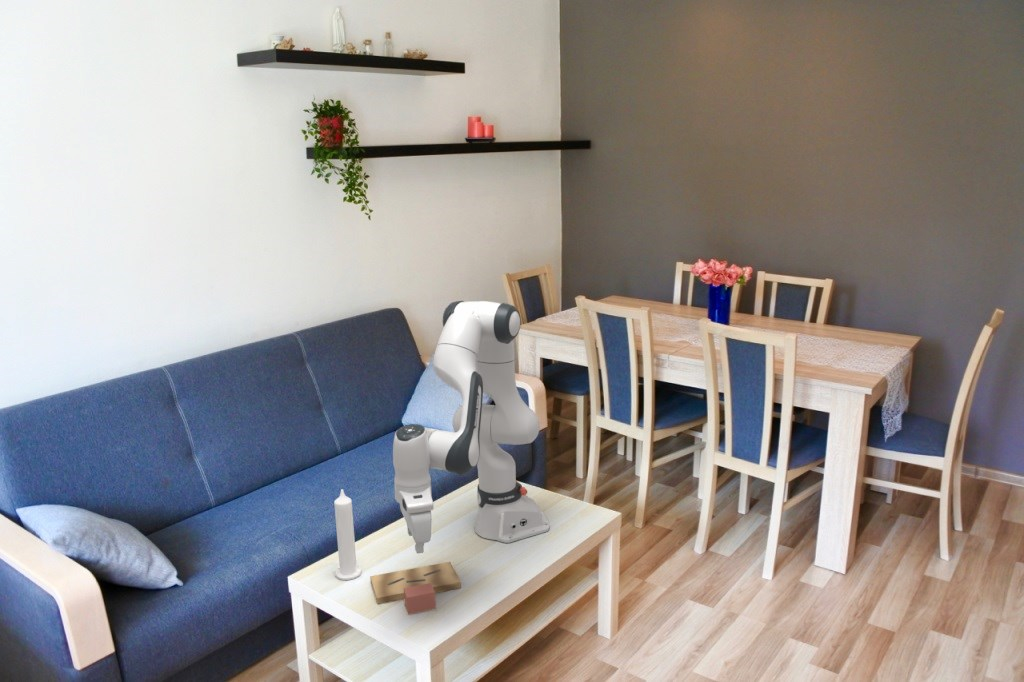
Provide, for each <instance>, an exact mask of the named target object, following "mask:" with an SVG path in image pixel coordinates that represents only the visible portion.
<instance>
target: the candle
mask: <svg viewBox="0 0 1024 682" xmlns="http://www.w3.org/2000/svg"><path fill="white" fill-rule="evenodd" d="M352 503H353V501H352V498H350V497H349V496H346V494H345V491H344V489H343V488H342V489H340V493H339V496H338V497H337V498H336V499H334V502H333V504H334V515H335V517H334V518H335V525H336V526H335V527H336V539H337V551H338V562H339V563H338V564H339V567H338V568H337V569H336V570H335V572H334V574H335V577H336V579H338V580H341V581H350V580H351V581H352V580H355V579H357V578H359V577H360V576H361V575H362V573H363V571H362V567H360V566H359V565H357V555H356V553H357V552H356V542H355V541H356V540H355V528H354V516H353V515H354V514H353V504H352Z"/></svg>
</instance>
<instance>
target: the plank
mask: <svg viewBox="0 0 1024 682" xmlns="http://www.w3.org/2000/svg"><path fill="white" fill-rule="evenodd" d="M369 577H370V578H369V579H370V584H371V587H372V591H373V594H374V597H375V601H376V603H377V605H380V604H381V605H382V604H386V603H392V602H396V601H401V600H404V588H407V587H413V586H418V585H423V584H428V583H431V585H432V587H433V589H434V592H435V594H437V593H441V592H442V593H443V592H448V591H453V590H457V589H461V588H462V584H461V583H462V582H461V580H460V578H459V576H458V574H457V572H456V569H455V568H454V566H453V564H452V562H451V561H446V562H441V563H436V564H429V565H424V566H419V567H413V568H408V569H403V570H398V571H397V570H396V571H391V572H385V573H381V574H374V575H371V576H369Z"/></svg>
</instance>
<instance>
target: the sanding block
mask: <svg viewBox="0 0 1024 682" xmlns="http://www.w3.org/2000/svg"><path fill="white" fill-rule="evenodd" d="M403 600H404V601H403V602H404V607H405V610H406V613H407V616H410V615H414V614H419V613H425V612H430V611H434V610H436V608H437V607H436V593H435V592H434V589H433V587H432V585H431V583H428V584H423V585H418V586H413V587H407V588H404V599H403Z"/></svg>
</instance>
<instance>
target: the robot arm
mask: <svg viewBox="0 0 1024 682" xmlns="http://www.w3.org/2000/svg"><path fill="white" fill-rule="evenodd" d="M521 323H522V321H521V315H520V312H519V311H518V309H517V307H516V306H514V305H513V304H509V303H505V302H502V303H501V302H496V301H489V300H488V301H487V300H479V301H473V300H472V301H470V300H469V301H464V300H458V301H453V302H450V303H449V304H448V305H447V307H445V309H444V311H443V314H442V326H443V328H442V330H441V333H440V335H439V338H438V341H437V344H436V347H435V351H434V354H433V360H432V368H433V370H434V372H435V374H436V376H437V378H439V380H441V382H443V383H445V385H447V386H448V387H450V388H452V389H454V390H456V391H457V392H458V393H460V395H461V398H462V405H460V406H459V407H458V408H457V409H456V411H455V412H454V414H453V416H452V421H451V422H452V428H453V431H448V430H441V429H436V428H431V427H425V426H423V425H422V424H417V423H411V424H406V425H403V426H401V427H399V428H398V429H396V432H395V433H394V437H393V445H392V463H393V464H392V465H393V468H394V473H395V475H394V478H393V479H394V480H393V481H394V485H393V486H394V500H395V501H396V502H397V503H398V504H399V509H400V512H401V514H402V516H403V518H404V520H405V523H406V526H407V527H406V529H407V533H408V534H407V535H408V536H409V537H412V539H413V541H414V543H415V544H414V548H415V552H416V554H418V555H419V554H423V553H424V551H425V550H424V548H425V544H426V543H429V542H430V541H431V537H432V511H433V510H434V501H433V495H432V479H431V474H430V469H436V470H441V471H446V472H449V473H452V474H455V475H459V476H464V475H466V474H468V473H470V472H471V471H473V469H475V467H476V466H477V467H476V468H477V477H478V485H477V486H476V487H477V488H476V489H477V491H476V498H477V500H476V501H477V505H478V509H477V518H476V522H475V526H474V532H475V533H476V534H477V535H478V536H479V537H480V538H481V537H482V538H483V539H486V540H487V539H488V540H492V541H498V542H501V543H503V544H504V543H505V544H509V543H514V542H516V541H520V540H522V539H526V538H529V537H532V536H536V535H540V534H543V533H546V532H548V531H550V521H549V520H548V518H547V517H546V516H545V514H544V513H542V511H541V509H540V508H541V507H540V505H538V503H537V502H536V501H535V500H534V499H532V498H531V497H529V496H528V495H527V494H528V489H526V487H524V486H523V485H522V484H521V483H520V482H518V481H517V480H516V477H517V475H516V474H517V472H516V471H517V469H516V461H515V459H514V458H513V456H512V455H511V454H510V453H508V452H507V451H506V450H503V449H502V448H501V446H499V444H501V445H502V444H503V445H504V444H505V445H513V446H515V445H517V446H518V445H525V444H531V443H533V442H534V441H535V440H536V438H537V437H538V435H539V433H540V429H541V428H540V427H541V426H540V419H539V416H538V414H537V413H536V412H535V410H533V409H532V408H531V407H529V406H528V405H527V404H526V402H525V401H524V400H523V398H522V397H521V395H520V393H519V391H518V387H517V382H516V381H517V380H516V369H515V367H516V365H515V362H516V361H515V357H516V356H515V344H514V340H515V339H516V338H517V336H518V335H519V332H520V331H521V330H520V329H521ZM484 394H485V395H486V396H489V397H490V398H491V399H492V401H493V402H494V404H495V405H494V404H485V403H484V404H483V397H484Z"/></svg>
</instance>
